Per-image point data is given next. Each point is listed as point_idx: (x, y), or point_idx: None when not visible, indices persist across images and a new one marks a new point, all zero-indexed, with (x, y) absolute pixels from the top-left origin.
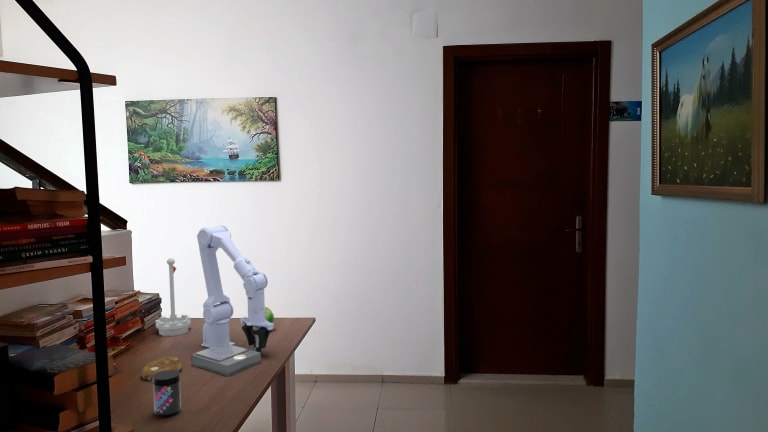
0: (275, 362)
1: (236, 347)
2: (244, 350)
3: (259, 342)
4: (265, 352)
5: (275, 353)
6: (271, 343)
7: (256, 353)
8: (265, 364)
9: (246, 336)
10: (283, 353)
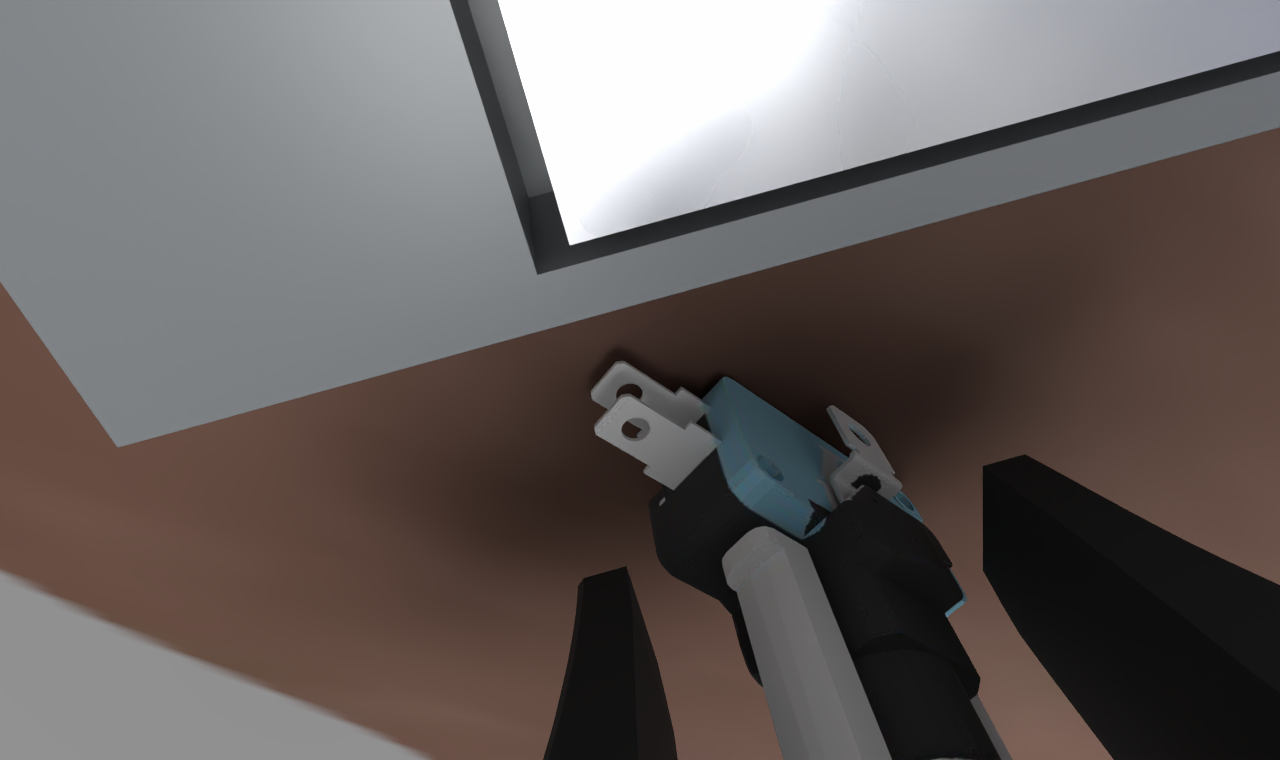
0: (76, 533)
1: (1075, 10)
2: (543, 85)
3: (623, 692)
4: None
5: None
6: None
7: (97, 322)
8: None
9: (1264, 593)
10: (477, 755)
